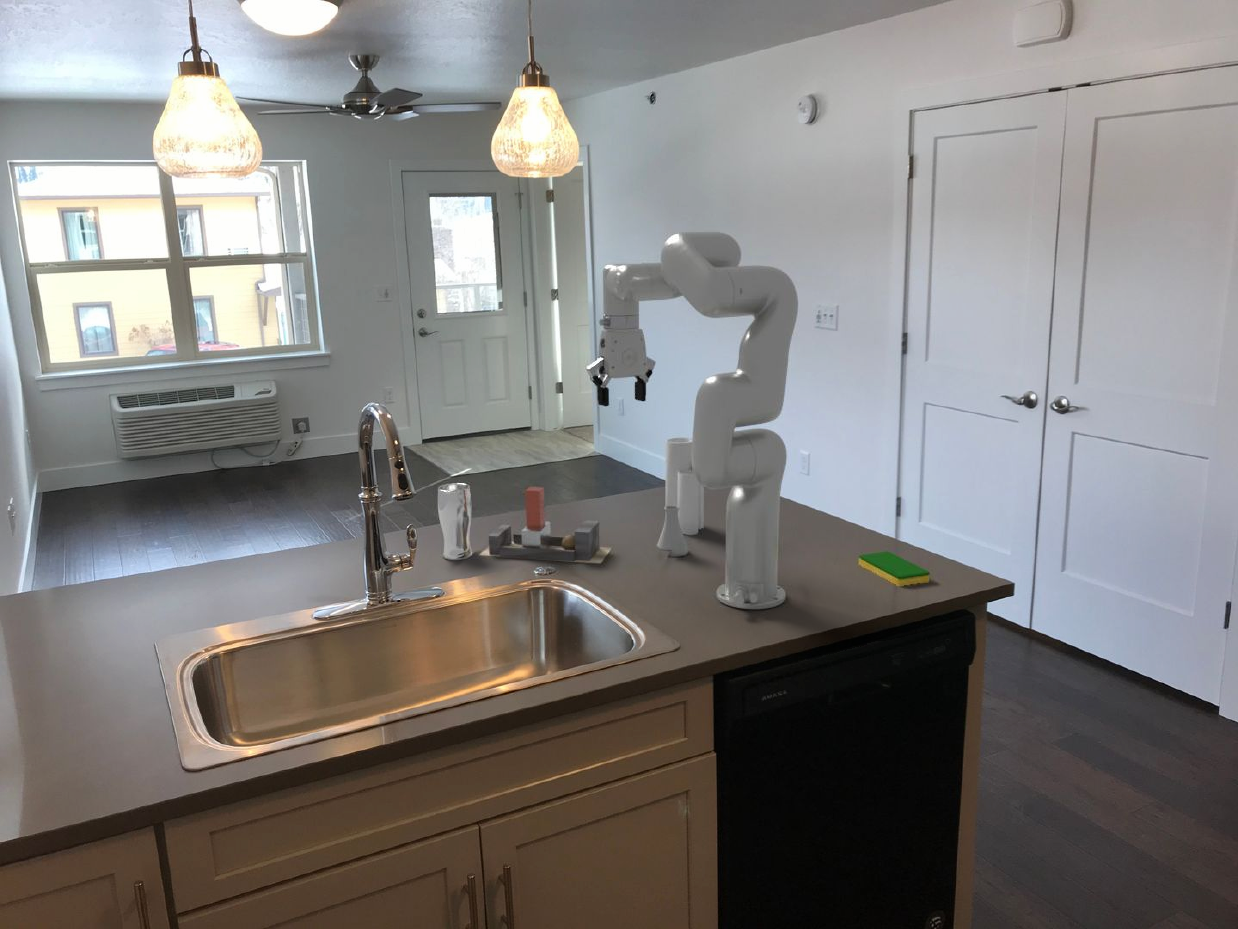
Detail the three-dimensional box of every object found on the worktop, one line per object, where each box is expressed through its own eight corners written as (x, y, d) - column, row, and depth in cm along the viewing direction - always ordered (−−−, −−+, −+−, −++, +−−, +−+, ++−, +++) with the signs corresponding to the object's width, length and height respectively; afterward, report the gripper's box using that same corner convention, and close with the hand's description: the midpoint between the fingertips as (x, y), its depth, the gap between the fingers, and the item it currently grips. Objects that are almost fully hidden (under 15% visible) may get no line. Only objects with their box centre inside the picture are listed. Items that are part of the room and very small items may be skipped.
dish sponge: (887, 561, 198) (887, 550, 197) (930, 584, 185) (930, 572, 184) (857, 566, 195) (858, 554, 195) (898, 589, 183) (899, 576, 182)
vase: (660, 523, 224) (659, 439, 220) (686, 519, 228) (686, 436, 223) (685, 536, 215) (685, 448, 210) (712, 531, 218) (713, 445, 213)
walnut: (576, 556, 198) (576, 538, 197) (560, 555, 198) (559, 537, 197) (581, 550, 201) (581, 533, 200) (565, 549, 202) (564, 532, 201)
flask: (689, 558, 200) (690, 511, 198) (655, 558, 201) (654, 512, 198) (688, 546, 207) (688, 502, 205) (654, 547, 208) (654, 502, 205)
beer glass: (464, 562, 199) (460, 492, 196) (434, 559, 202) (430, 490, 198) (479, 552, 206) (476, 484, 202) (450, 549, 208) (446, 482, 204)
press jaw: (540, 555, 197) (538, 493, 194) (522, 553, 198) (519, 492, 195) (551, 544, 204) (549, 485, 201) (533, 543, 205) (530, 484, 202)
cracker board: (600, 570, 194) (599, 534, 192) (479, 562, 199) (477, 527, 198) (612, 554, 203) (611, 520, 201) (496, 547, 209) (494, 513, 207)
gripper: (597, 327, 196) (598, 409, 200) (664, 321, 206) (664, 400, 210) (577, 324, 202) (579, 405, 206) (643, 319, 212) (644, 396, 216)
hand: (622, 402), depth 208 cm, fingers open, 9 cm apart
